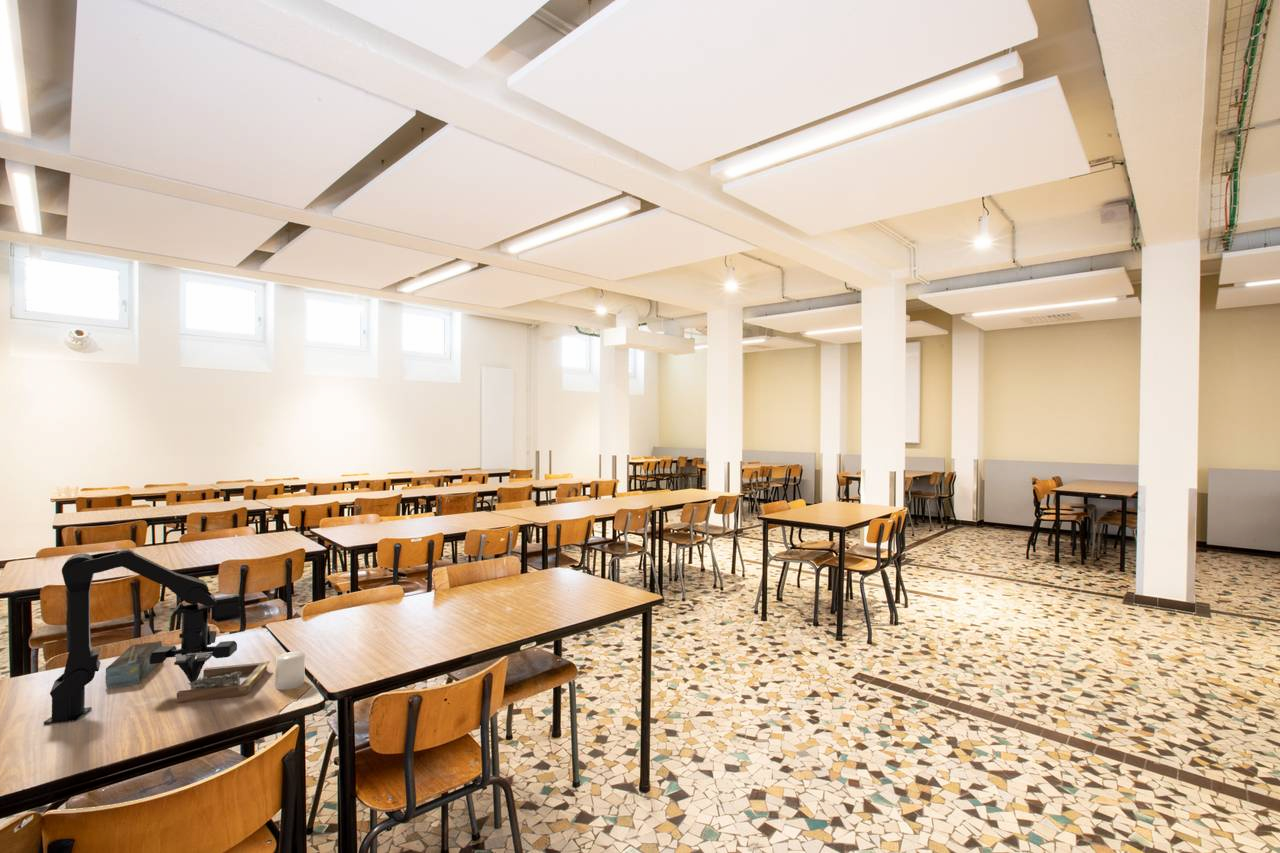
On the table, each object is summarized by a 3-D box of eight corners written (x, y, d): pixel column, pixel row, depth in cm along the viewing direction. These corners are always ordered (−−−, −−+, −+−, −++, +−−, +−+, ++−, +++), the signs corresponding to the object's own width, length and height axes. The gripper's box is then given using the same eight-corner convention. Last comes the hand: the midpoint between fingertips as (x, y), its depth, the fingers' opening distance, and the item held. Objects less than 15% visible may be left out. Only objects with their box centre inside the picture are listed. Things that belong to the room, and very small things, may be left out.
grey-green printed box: (103, 689, 158) (103, 665, 158) (130, 664, 175) (130, 642, 175) (140, 684, 161) (140, 661, 161) (163, 660, 178) (163, 639, 179)
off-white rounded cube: (300, 688, 159) (300, 659, 159) (271, 691, 157) (272, 662, 157) (307, 678, 165) (307, 650, 165) (279, 680, 163) (280, 652, 163)
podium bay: (248, 695, 154) (248, 684, 154) (176, 703, 150) (176, 692, 150) (269, 670, 171) (269, 660, 171) (205, 676, 166) (205, 666, 166)
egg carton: (244, 685, 161) (244, 670, 161) (225, 697, 153) (225, 682, 153) (205, 685, 161) (206, 670, 161) (184, 697, 153) (185, 681, 153)
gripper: (244, 614, 169) (244, 668, 168) (169, 620, 163) (168, 675, 163) (229, 627, 158) (228, 684, 158) (148, 633, 153) (147, 692, 152)
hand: (193, 683), depth 158 cm, fingers closed
